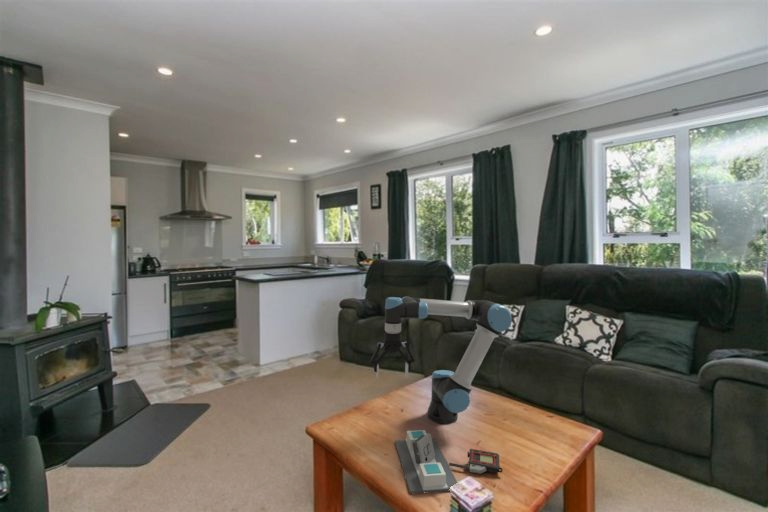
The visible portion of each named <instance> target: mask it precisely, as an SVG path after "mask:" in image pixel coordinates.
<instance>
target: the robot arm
mask: <svg viewBox="0 0 768 512" xmlns="http://www.w3.org/2000/svg"><path fill="white" fill-rule="evenodd" d="M429 315H431V316H432V315H435V316H447V317H448V316H449V317H459V318H460V317H462V318H466V319H467V320H472V321H473V320H474V321H477V322H476V323H475V325H476V328H477V329H476V331H475V333H474V335H473V336H472V339H471V341H470V342H469V344H468V346H467V348H466V350H465V352H464V354H463V356H462V358H461V360H460V362H459V364H458V366H457V367H456V370H455V372H454V371H451V370H447V369H439V370H434V371H433V372H432V375H431V399H430V403H429V406H428V409H427V417H428V419H430V420H431V421H433V422H435V423H438V424H446V425H448V424H452V422H453V423H456V421H457V420H458V416H459V415H458V414H459V413H462V412H464V411H466V410H467V409H468V407H469V406H470V403H471V397H470V394H471V392H472V390H473V387H472V382H473V380H474V378H475V376H476V374H477V372H478V371H479V369H480V367H481V365H482V362H483V361H484V358H485V357H486V355H487V353H488V352H489V349H490V347H491V345H492V343H493V341H494V340H495V338H498V337H500V336H501V334H502V333H503V332H504V331H507V330H508V329H509V328H510V327H511V324H512V318H513V317H512V314H511V311H510V310H509V309H508V307H506V306H504V305H502V304H499V303H496V302H493V301H491V300H484V299H483V300H482V299H481V300H480V299H479V300H471V299H468V300H466V301H457V300H456V301H455V300H443V299H433V298H432V299H431V298H417V297H410V296H403V297H397V296H396V297H395V296H389V297H386V298H385V303H384V331H385V332H384V340H383V342H380V341H377V344H376V347H375V350H374V351H373V354H372V356H371V358H370V359H369V363H370V365H373V371H374V373H375V379H376V380H377V381H379V373H380V372H379V371H380V365H379V363H380V362H381V361H382V359H383V358H384V357H385V356H386V355H387V354H388V353H389V354H392V353H397V352H398V353H399V354H400V355H401V357H402V358H404V360H405V363H404V364H405V365H404V366H405V367H404V377H405V378H406V379H409V371H411V365H412V363H415V359H414V356H413V354H412V352H411V350H410V348H409V343H408V342H407V341H406V340H405V341H404V342H403V341H402V320H403V319H410V320H411V319H414V320H415V319H416V320H417V319H419V320H421V319H426V318H427V317H428V316H429ZM402 346H403V348H404V349H405V351H406V353H407V355H408V357H407V356H406V355H405V353H404V352H403V351H402V349H401V348H402ZM383 347H384V348H383ZM382 348H383V349H382ZM381 349H382V351H381ZM380 351H381V353H380ZM379 353H380V354H379Z"/></svg>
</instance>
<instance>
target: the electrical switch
mask: <svg viewBox="0 0 768 512" xmlns="http://www.w3.org/2000/svg"><path fill="white" fill-rule="evenodd" d="M412 444H413V449H414V454H415V459H416V463H417V464H422V463H429V462H430V461H431V460H432V459H433V458H434V457H435V452H434V447H433V443H432V434H431V433H429V432H428V433H427V435H422V436H420V437H419V438H418V439H417V440H415V441H414V442H413V443H412ZM417 453H418V454H417Z"/></svg>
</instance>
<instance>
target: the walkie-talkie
mask: <svg viewBox="0 0 768 512" xmlns="http://www.w3.org/2000/svg"><path fill="white" fill-rule="evenodd" d="M467 458H469V459H468V460H467V464H468V465H463V464H459V463H453V462H449V463H448V465H449V467H455V468H461V469H465V470H469V473H474V474H478V475H479V474H481V475H482V473H485V472H490V473H491V472H493V473H496V474H497V473H503V468H502V467H500V454H499V453H498V452H497V453H496V452H493V451H487V450H480V449H474V448H470V449H469V451H467Z"/></svg>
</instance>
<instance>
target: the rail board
mask: <svg viewBox="0 0 768 512" xmlns="http://www.w3.org/2000/svg"><path fill="white" fill-rule="evenodd" d="M427 434H428V433H427V432H426V430H425V429H422V430H421V429H420V430H419V429H418V430H407V431H406V438H405V439H397V440H394V444H395V447H396V451H397V453H398V457H399V459H400V460H399V461H400V463H401V466H402V470H403V474H404V478H405V480H406V484H407V486H408V490H410V491H409V493H420V494H427V493H426V492H433V493H441V492H440V491H446V492H449V491H448V490H449V489H450V487H451V486H453V485H454V484H456V483H458V481H457V479H456V477H455V475H454V472H453V471H452V469H451V466H450V465H449V463H448V461H447V459H446V457H445V454H444V453H443V452H442V449H441V448H440V446H439V443H438V441H437V440H436V437H435V438H434V437H433V438H432V437H431V438H432V443H433V447H434V452H435V457H434V458H433V459H432V460H431V461H430V462H429V463H422V464H417V463H416V459H415V454H414V449H413V444H412V443H413V442H414V441H415V440H417V439H418V438H419V437H420V436H422V435H427ZM417 454H418V453H417ZM424 492H425V493H424Z"/></svg>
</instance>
